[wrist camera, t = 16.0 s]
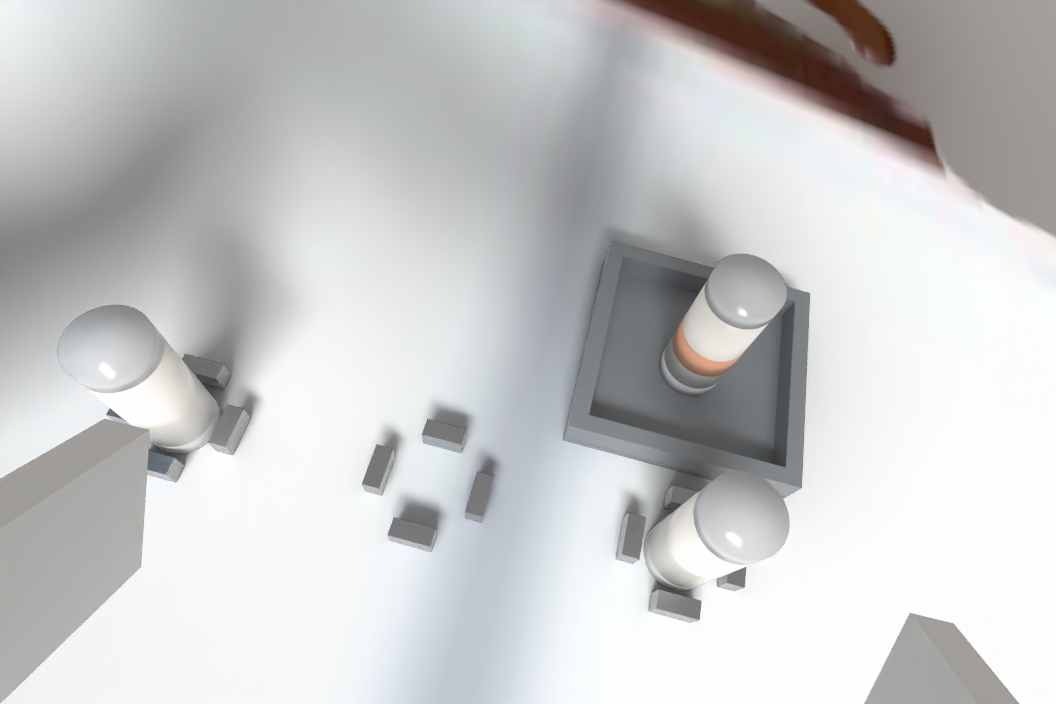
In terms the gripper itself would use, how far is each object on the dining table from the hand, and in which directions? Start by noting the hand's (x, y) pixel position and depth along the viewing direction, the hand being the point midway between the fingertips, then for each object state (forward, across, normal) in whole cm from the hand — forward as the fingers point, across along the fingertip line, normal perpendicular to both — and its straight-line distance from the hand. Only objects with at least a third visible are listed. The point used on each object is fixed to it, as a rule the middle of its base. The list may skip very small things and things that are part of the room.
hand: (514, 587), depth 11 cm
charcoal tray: (+32, +10, -5) cm, 34 cm away
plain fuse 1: (+25, -19, -13) cm, 34 cm away
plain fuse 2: (+24, +11, -13) cm, 29 cm away
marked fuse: (+32, +10, -4) cm, 34 cm away
